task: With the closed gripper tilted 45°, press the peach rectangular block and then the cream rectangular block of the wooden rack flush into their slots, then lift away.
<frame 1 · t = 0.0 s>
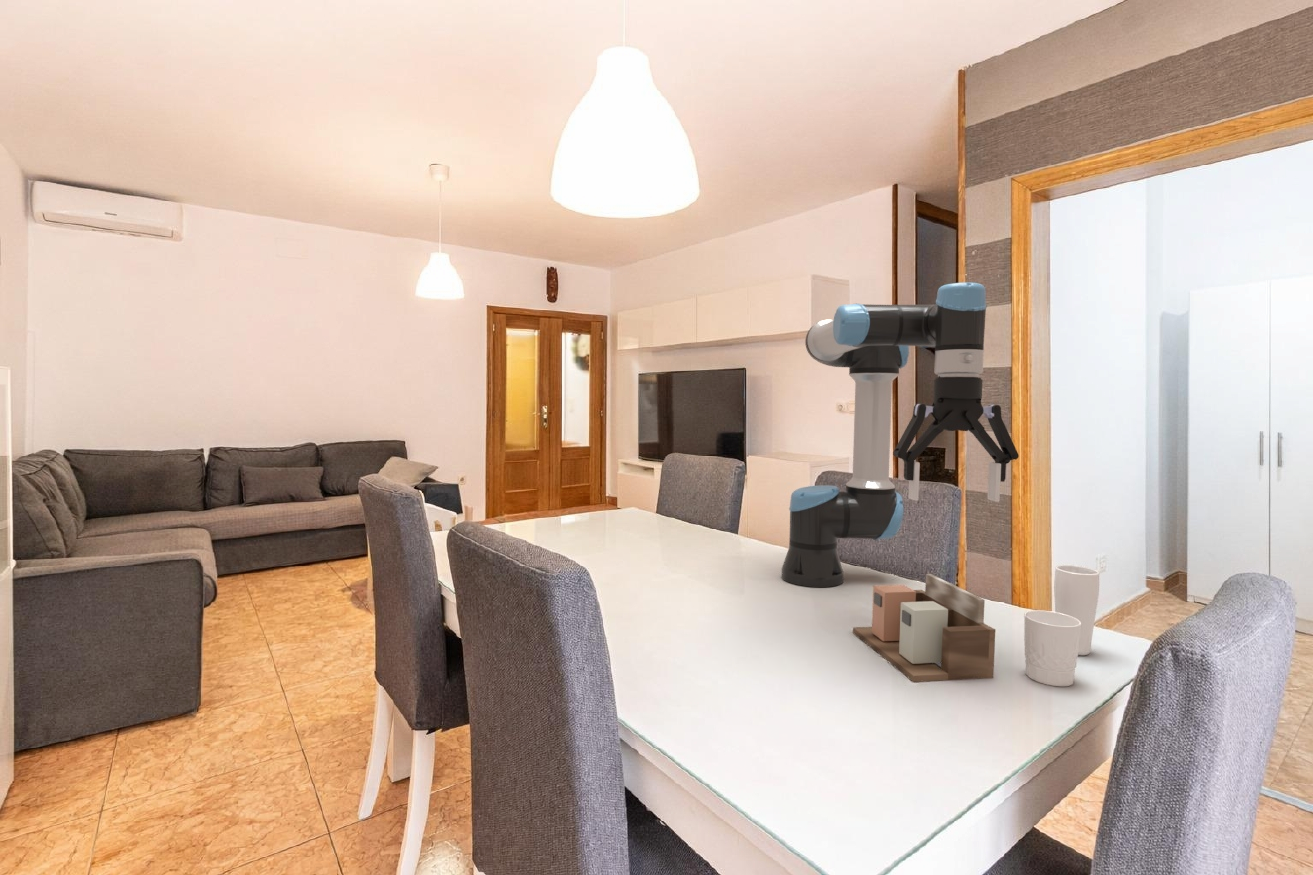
hand: (953, 500, 111), 28 cm above the table, tool pointing down, fingers open, 13 cm apart
wooden rack: (911, 653, 115), on the table
cream rectangular block: (922, 631, 110), point 6 cm above the table, slide at 0.0 cm
white cup: (1049, 679, 106), on the table
drinking glass 2: (1072, 651, 117), on the table
peach rectangular block: (892, 612, 120), point 6 cm above the table, slide at 0.0 cm
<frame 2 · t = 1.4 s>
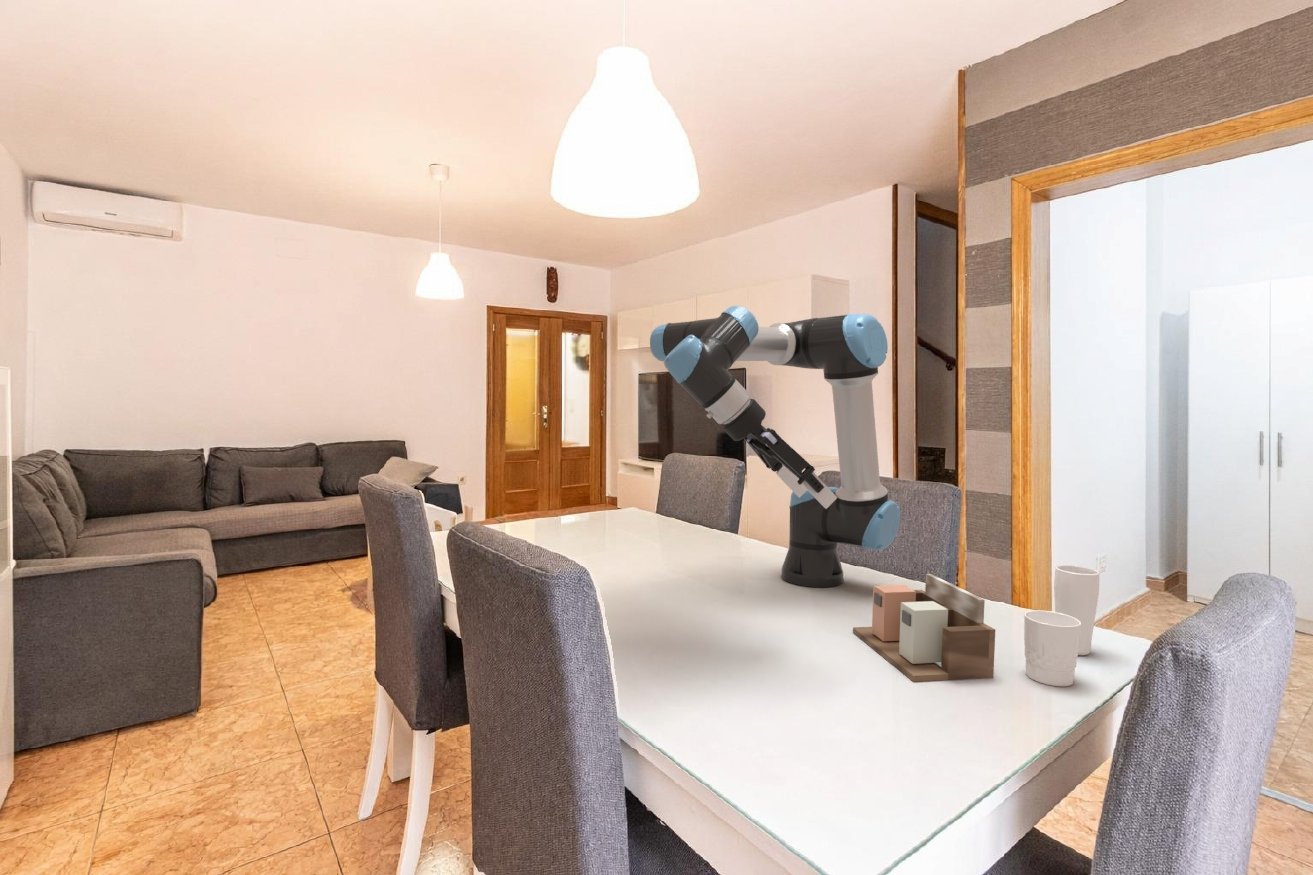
hand: (816, 497, 116), 27 cm above the table, tool tilted 45°, fingers open, 12 cm apart
nothing on the table moved.
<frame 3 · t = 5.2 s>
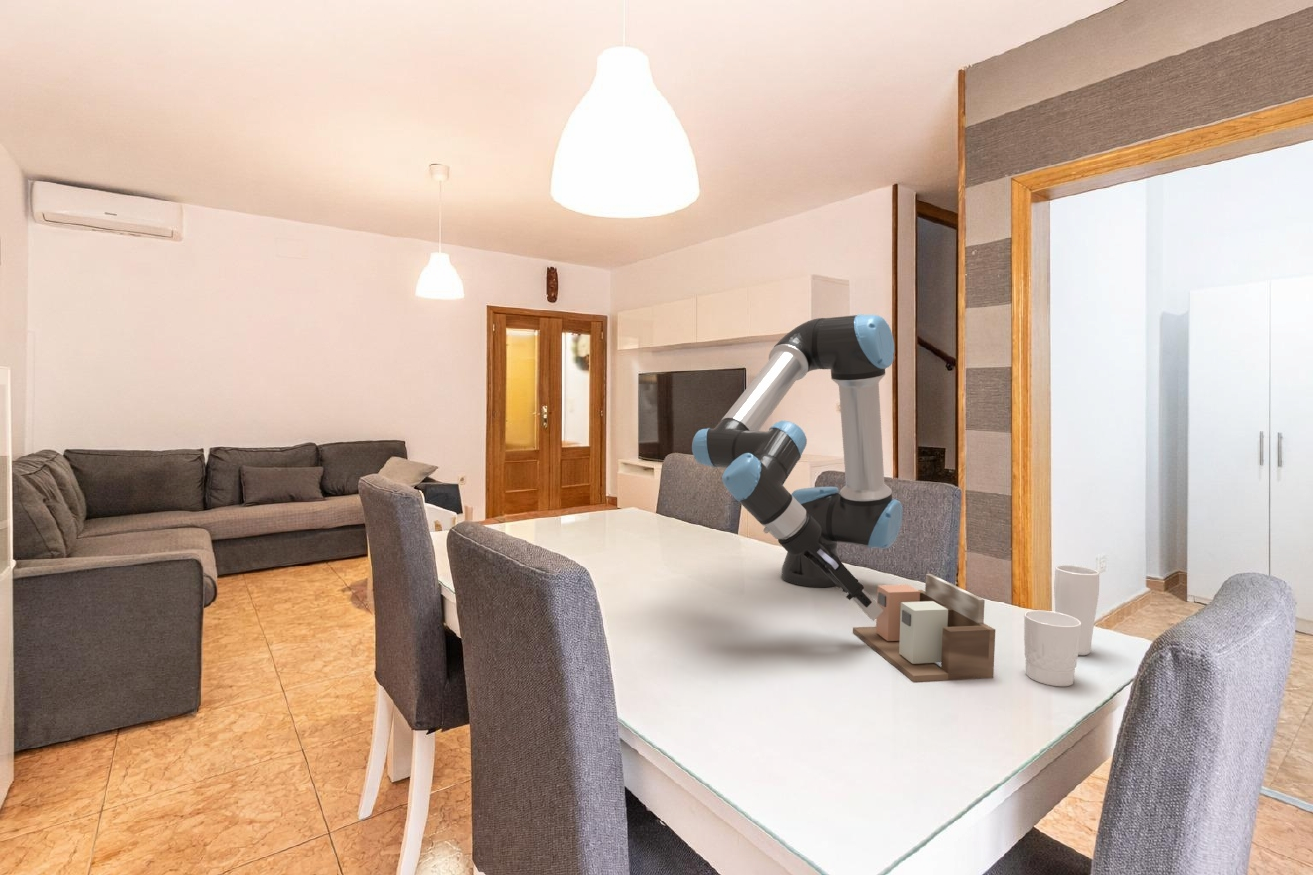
hand: (876, 614, 119), 6 cm above the table, tool tilted 45°, fingers closed
peach rectangular block: (896, 612, 120), point 6 cm above the table, slide at 0.8 cm, touching gripper
everything else where it was.
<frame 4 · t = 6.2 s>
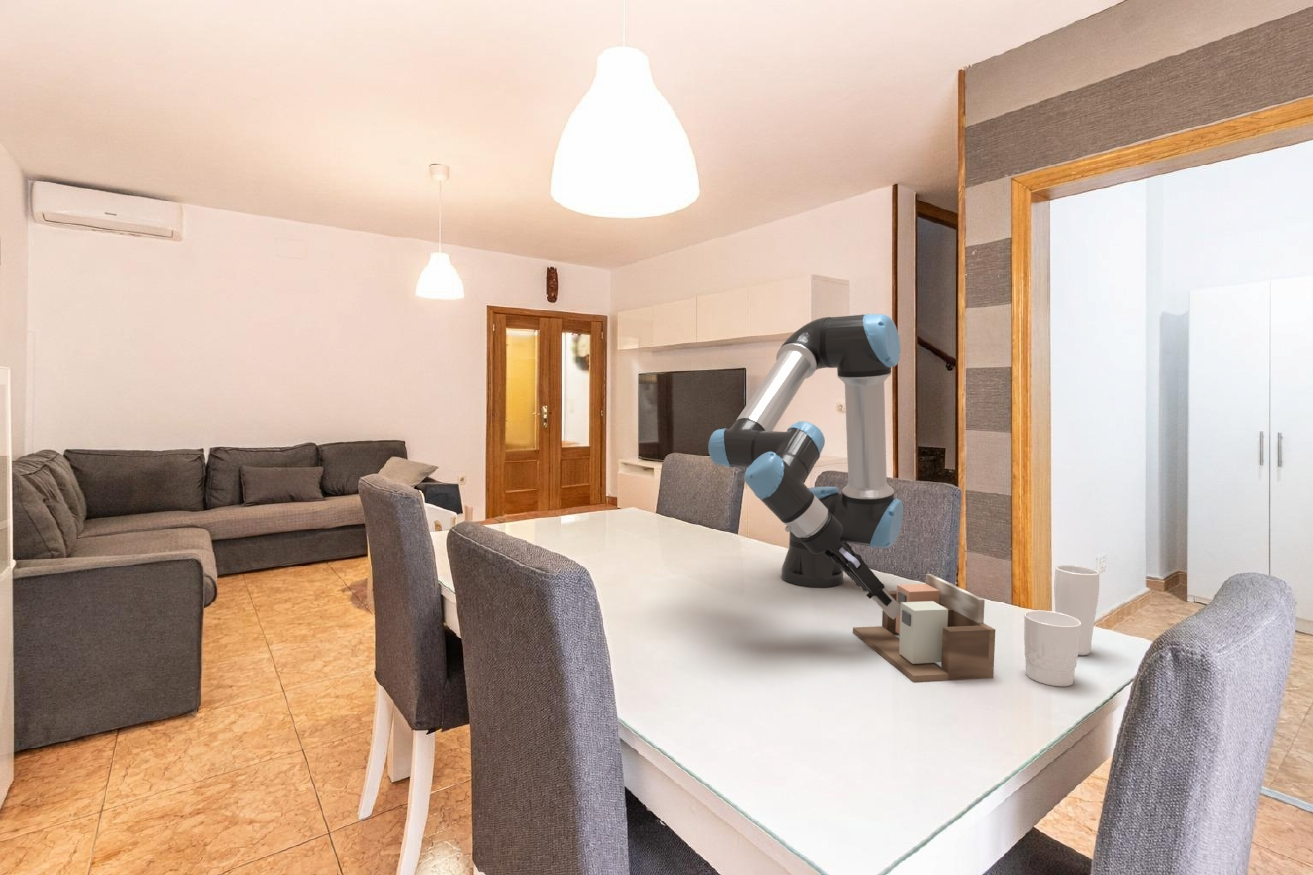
hand: (896, 613, 119), 6 cm above the table, tool tilted 45°, fingers closed
peach rectangular block: (916, 611, 120), point 6 cm above the table, slide at 4.7 cm, touching gripper
everything else where it was.
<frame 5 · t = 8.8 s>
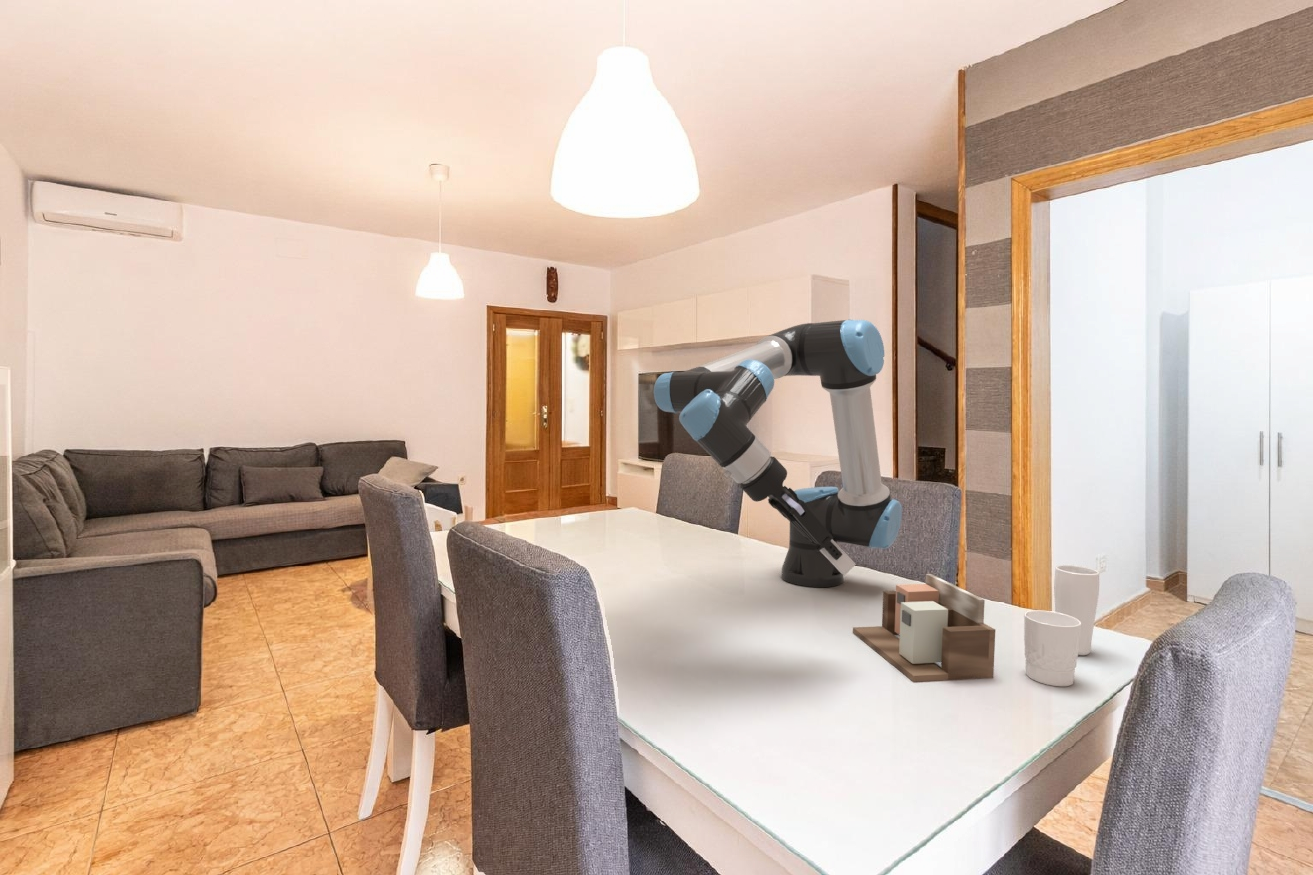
hand: (848, 568, 109), 16 cm above the table, tool tilted 45°, fingers closed
peach rectangular block: (915, 611, 120), point 6 cm above the table, slide at 4.6 cm
everything else where it was.
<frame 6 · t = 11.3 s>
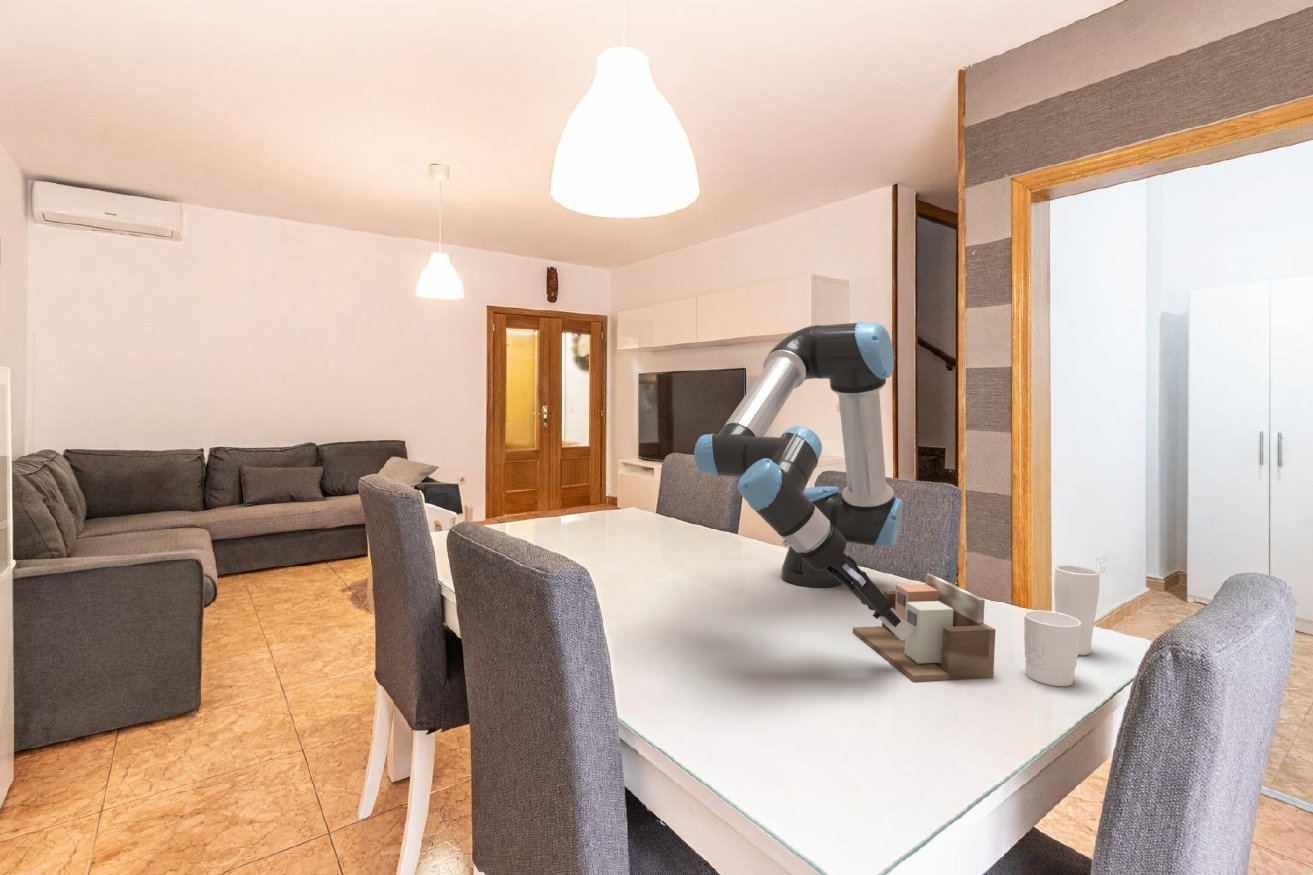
hand: (905, 633, 109), 6 cm above the table, tool tilted 45°, fingers closed
cream rectangular block: (927, 631, 110), point 6 cm above the table, slide at 1.0 cm, touching gripper
everything else where it was.
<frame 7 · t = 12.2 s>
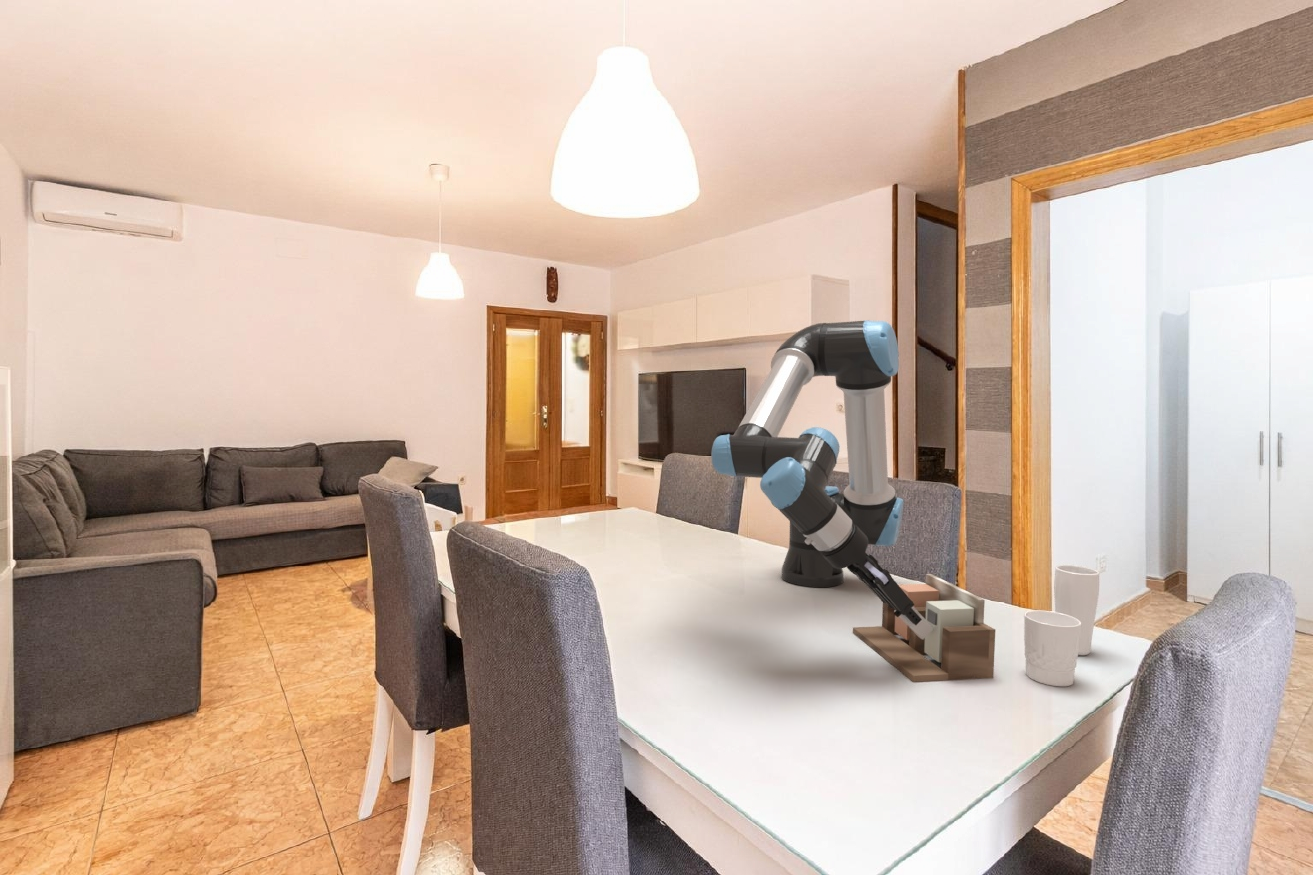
hand: (925, 632, 110), 6 cm above the table, tool tilted 45°, fingers closed
cream rectangular block: (947, 630, 110), point 6 cm above the table, slide at 4.7 cm, touching gripper
everything else where it was.
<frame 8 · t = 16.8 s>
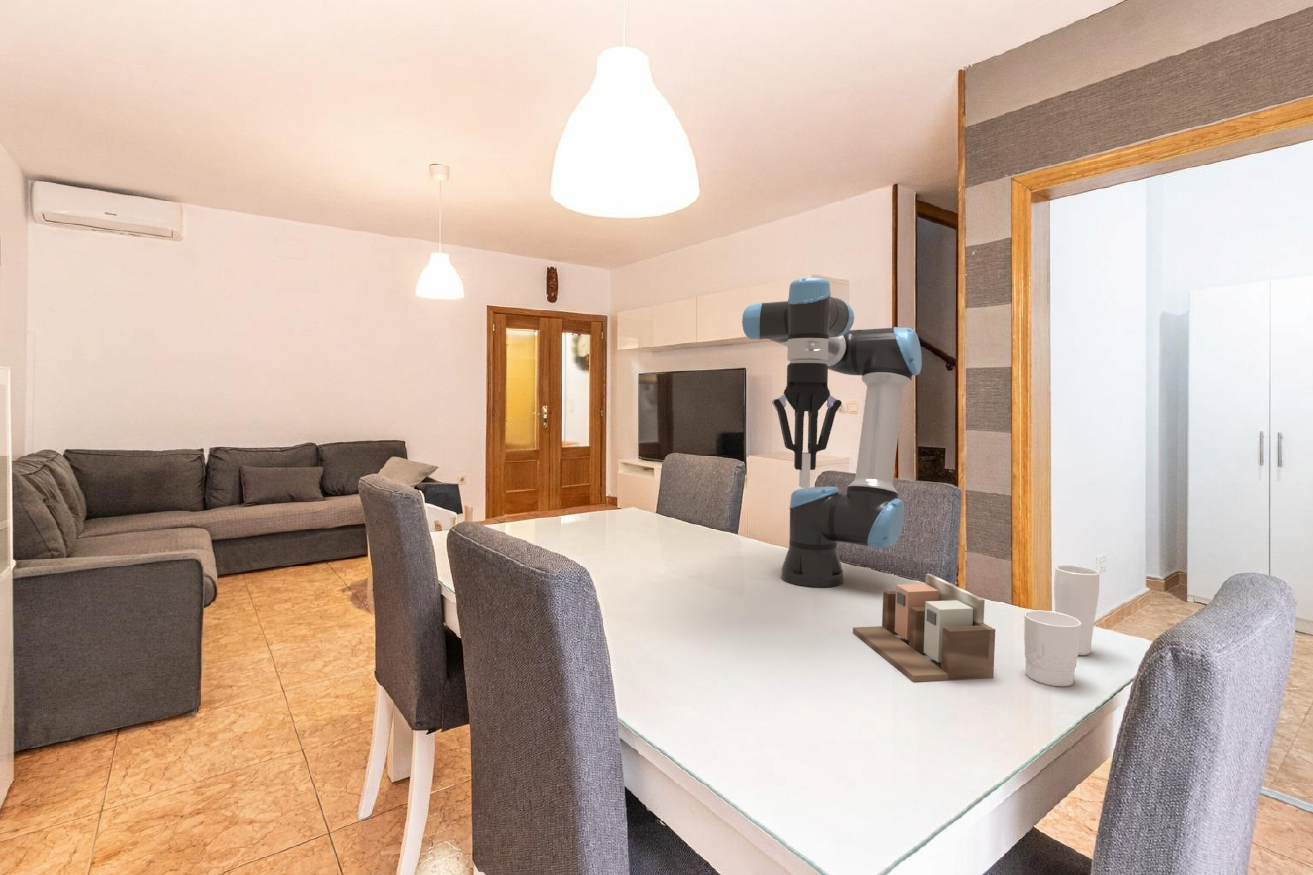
hand: (804, 486, 123), 28 cm above the table, tool pointing down, fingers closed
cream rectangular block: (947, 630, 110), point 6 cm above the table, slide at 4.6 cm
everything else where it was.
at the end: peach rectangular block slide at 4.6 cm; cream rectangular block slide at 4.6 cm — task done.
